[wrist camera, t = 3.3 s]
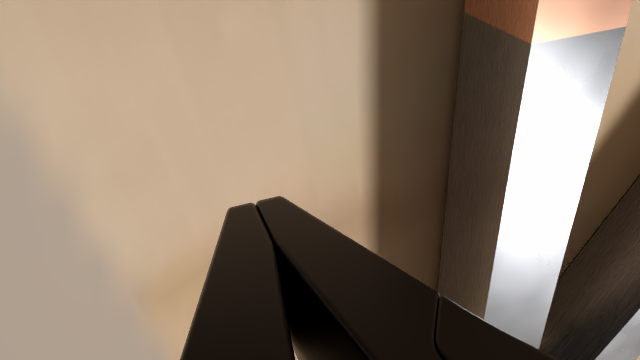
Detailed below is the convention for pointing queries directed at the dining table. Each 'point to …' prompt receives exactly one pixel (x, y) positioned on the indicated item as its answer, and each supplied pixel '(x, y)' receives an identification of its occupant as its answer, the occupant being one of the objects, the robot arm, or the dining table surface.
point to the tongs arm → (523, 150)
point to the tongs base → (600, 293)
